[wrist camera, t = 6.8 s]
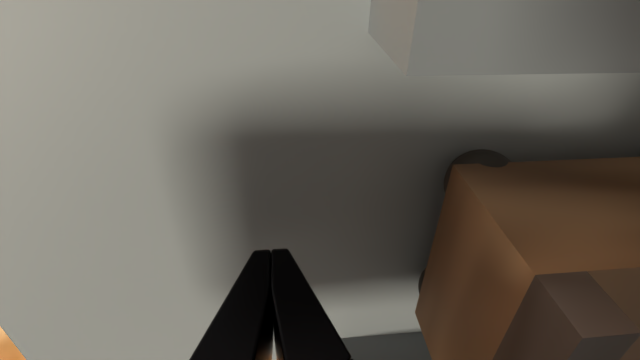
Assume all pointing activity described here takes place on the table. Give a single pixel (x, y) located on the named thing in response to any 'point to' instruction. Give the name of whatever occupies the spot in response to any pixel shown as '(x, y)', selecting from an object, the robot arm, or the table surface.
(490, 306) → the block
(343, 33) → the dock
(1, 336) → the table surface
